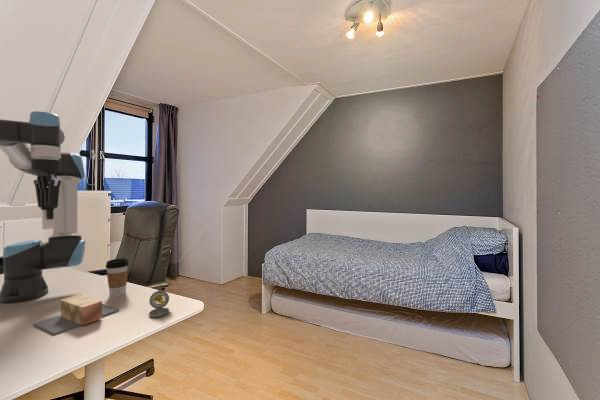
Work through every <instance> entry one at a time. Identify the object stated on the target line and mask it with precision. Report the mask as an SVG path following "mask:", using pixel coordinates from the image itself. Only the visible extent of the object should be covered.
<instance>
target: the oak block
mask: <svg viewBox="0 0 600 400" xmlns="http://www.w3.org/2000/svg"><path fill="white" fill-rule="evenodd" d="M102 304H103V301H102V300H101V299H96V298H93V297H90V296H87V295H83V294H77V295H74V296H73V295H72V296H69V297H66V298H63V299H60V315H61V317H63V318H66V319H68V320H71V321H73V322H76V323H78V324H81V325H80V326H85V325H88V324H90V323H93V322H95V321H99V320H101V319H103V317H102Z"/></svg>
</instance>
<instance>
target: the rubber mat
mask: <svg viewBox="0 0 600 400" xmlns="http://www.w3.org/2000/svg"><path fill="white" fill-rule="evenodd" d="M119 311H120V309H119V308H116V307H113V306H110V305H108V304H105V303H102V318H104V317H107V316H109V315H112V314H115V313H116V312H119ZM32 326H34V327H36V328H39V329H40V330H41V331H42V330H43V331H44V332H46V333H48V334H50V335H52V336H56V335H58V334H61V333H64V332H66V331H69V330H72V329H74V328H77V327H80V326H82V325H81V324H78V323H76V322H73V321H71V320H68V319H66V318H63V317H61V314H58V315H55V316H52V317H49V318H46V319H43V320H39V321H36V322H33V323H32Z"/></svg>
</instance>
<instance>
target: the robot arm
mask: <svg viewBox="0 0 600 400" xmlns="http://www.w3.org/2000/svg"><path fill="white" fill-rule="evenodd" d="M65 138H66V136H65V132H64V131H63V129H61V120H60V117H59V115H58V114H56V113H52V112H47V111H41V110H40V111H36V110H35V111H31V112H30V113H29V120H28V122H27V121H19V120H18V121H17V120H10V119H9V120H8V119H1V118H0V150H1V151H2V152H3V153H4V154H5V155H6V156H7V157H8V160H9V163H10V164H11V165H12V166H13V167H14V168H15V169H17V170H19V171H21V172H22V173H23V172H24V173H25V174H29V175H32V176H36V179H33V184H34V188H35V193H36V194H35V195H36V201H37V207H38V208H40V209H41V223H42V224H41V225H42V226H41V227H42V230H51V229H52V235H50V236H49V237H48V242H43V241H42V240H41V239H30V240H23V241H19V242H15V243H11V244H8V245H6V246H5V247H4V248H3V249H2V251H3V253H2V261H3V262H2V263H3V265H2V266H3V283H2V286H1V288H0V303H2V304H10V303H11V304H13V303H20V302H25V301H29V300H33V299H37V298H40V297H43V296H45V295H47V294H48V293H49V285H48V284H47V281H46V280H45V278H44V276H43V270H52V269H61V268H70V267H74V266H75V267H76V266H80V265H81V264H82V262H83V260H84V257H85V249H86V240H85V239H83V238H82V235H81V234H80V233H78V184H80V183H81V182H82V179H85V177H86V173H85V172H86V171H85V167H84V162H83V157H82V155H81V154H79V153H73V152H62V148H61V145H62V144H63V143H64V142H65ZM29 145H30V146H29Z"/></svg>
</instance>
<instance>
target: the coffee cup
mask: <svg viewBox="0 0 600 400" xmlns="http://www.w3.org/2000/svg"><path fill="white" fill-rule="evenodd" d="M129 265H130V264H129V260H128V258H115V259H110V260H107V261H106V264H105V268H106V277H107V285H108V291H109V296H110V297H118V296H123V295H125V294H126V292H127V284H128V272H129V271H128V266H129Z"/></svg>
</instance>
